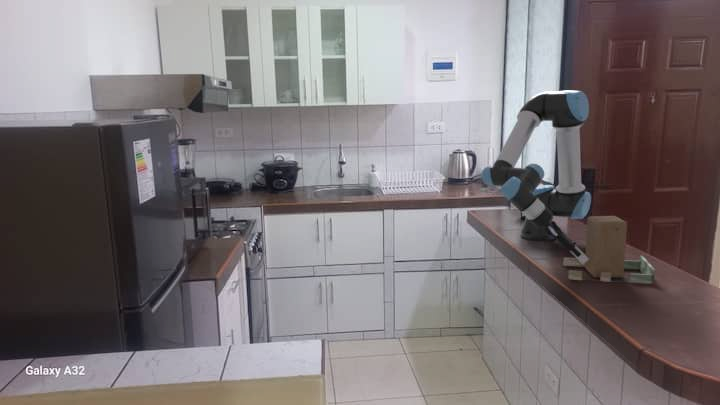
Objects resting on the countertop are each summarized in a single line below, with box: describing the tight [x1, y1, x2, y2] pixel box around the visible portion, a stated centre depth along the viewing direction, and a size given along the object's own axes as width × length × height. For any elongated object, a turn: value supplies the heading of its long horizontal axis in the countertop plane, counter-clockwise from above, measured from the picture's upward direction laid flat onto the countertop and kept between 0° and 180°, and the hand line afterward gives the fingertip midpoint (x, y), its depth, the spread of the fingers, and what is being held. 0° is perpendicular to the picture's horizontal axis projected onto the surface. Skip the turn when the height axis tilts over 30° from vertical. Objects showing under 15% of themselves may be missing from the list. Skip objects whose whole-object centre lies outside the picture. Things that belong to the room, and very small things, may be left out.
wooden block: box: [584, 215, 628, 279], centre depth 170 cm, size 10×10×20 cm
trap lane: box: [563, 255, 656, 285], centre depth 171 cm, size 15×26×5 cm, turn 74°
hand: (585, 261), depth 171 cm, fingers closed
